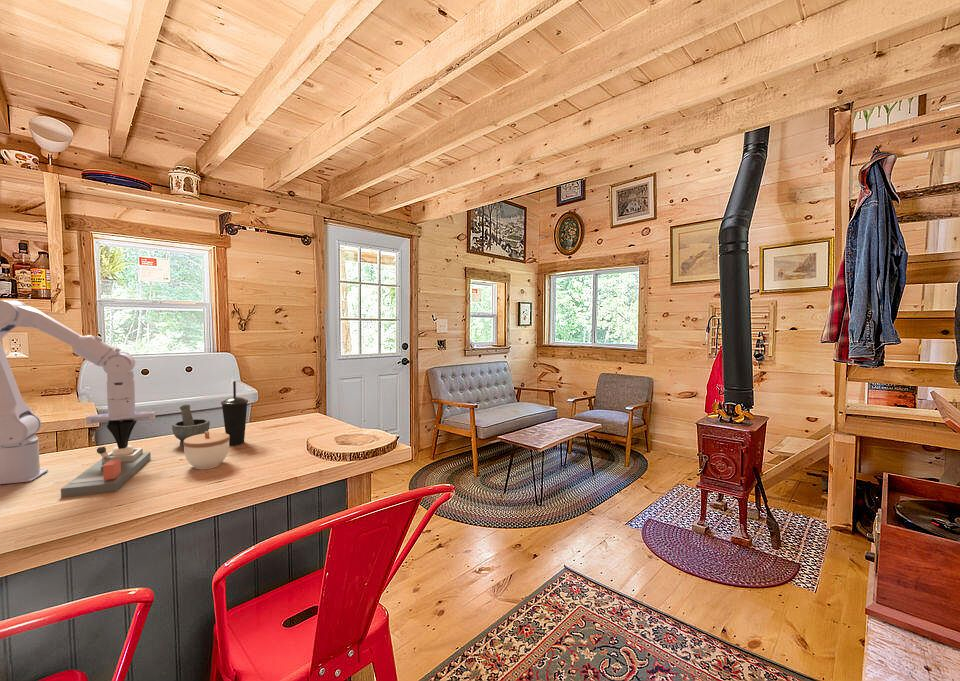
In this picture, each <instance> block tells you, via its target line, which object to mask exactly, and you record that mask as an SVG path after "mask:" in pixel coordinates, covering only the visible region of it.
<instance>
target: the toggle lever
mask: <svg viewBox="0 0 960 681" xmlns="http://www.w3.org/2000/svg"><path fill="white" fill-rule="evenodd" d="M96 453H97V454H99V455H100V456H101V459H102V458H103V459H104V461H107V460H109V459H111V458H110V457H109V455H108V452H107V448H106V447H105V446H99V447H97V449H96Z"/></svg>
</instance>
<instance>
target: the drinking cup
mask: <svg viewBox="0 0 960 681" xmlns="http://www.w3.org/2000/svg"><path fill="white" fill-rule="evenodd" d="M236 382H237V381H236V380H233V382H232V384H233V386H232V387H233V391H232V392H233V393H232V394H233V397H228V398H226V399H224V400H222V401H220V404H221V407H222V408H221V409H222V416H223V424H224V433H226V434H229V435H230V439H229V446H240V445H242V444H244V443H245V436H246V425H247V424H246V423H247V422H246V421H247V412H248V403H249V400H248V399H247V398H244V397H239V396H237V386H236V384H237V383H236Z"/></svg>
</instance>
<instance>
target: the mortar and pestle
mask: <svg viewBox="0 0 960 681" xmlns="http://www.w3.org/2000/svg"><path fill="white" fill-rule="evenodd" d="M179 409H180V412H181V419H182V420H180V421H176V422H174V423H172V424H171V428H172V434H173V435H174V437H175V438H176V439H178V440H179V441H180V442H179V446H180V447H182V448H184V444H183V441H184V440H185V439H186V438H188V437H191V436H194V435H198V434H204V433H205V432H207V431H209V430H210V426H211V424H210V423H211V422H210V420H209V419H206V418H193V415H192V414H193V413H192V412H191V405H190V404H183V405H181V406H179Z"/></svg>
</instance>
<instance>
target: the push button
mask: <svg viewBox="0 0 960 681" xmlns="http://www.w3.org/2000/svg"><path fill="white" fill-rule="evenodd" d="M133 449H134V445H133V444H128V446H127V447H126V448H123V449H118V446H115V447H114V446H113V447H112V448H111V451H112V456H122V455H131V454H133Z"/></svg>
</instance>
